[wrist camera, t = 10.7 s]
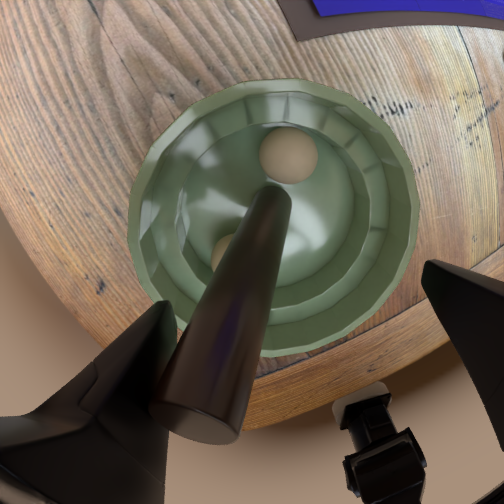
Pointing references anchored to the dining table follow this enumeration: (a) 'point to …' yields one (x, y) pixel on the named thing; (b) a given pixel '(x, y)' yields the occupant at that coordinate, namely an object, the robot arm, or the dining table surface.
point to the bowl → (302, 214)
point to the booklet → (387, 14)
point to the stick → (226, 331)
